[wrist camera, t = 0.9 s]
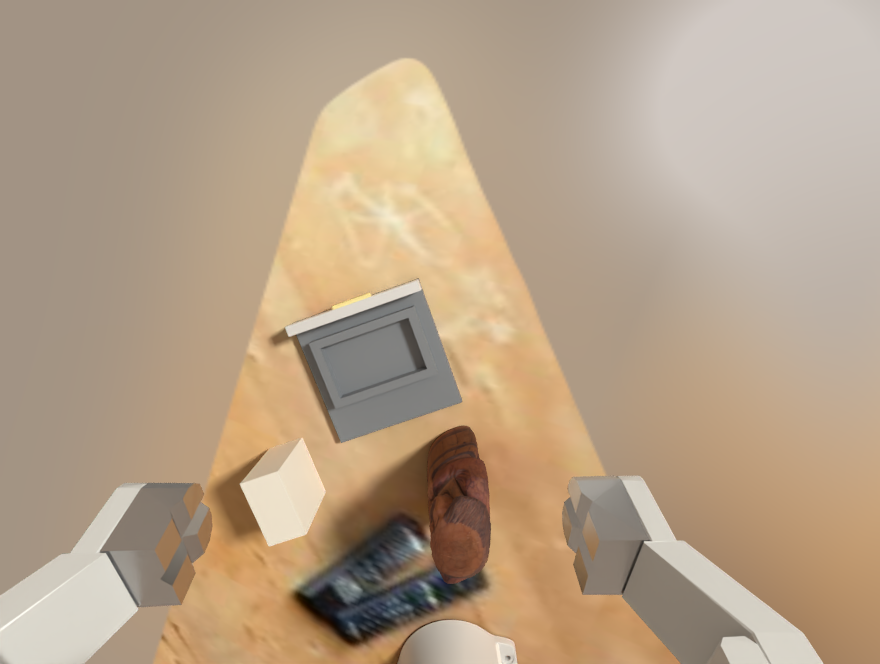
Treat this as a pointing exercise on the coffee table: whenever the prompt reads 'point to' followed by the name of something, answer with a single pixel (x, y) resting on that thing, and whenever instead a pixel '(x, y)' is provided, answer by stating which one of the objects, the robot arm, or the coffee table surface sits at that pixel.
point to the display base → (377, 360)
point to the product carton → (284, 491)
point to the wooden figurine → (458, 505)
